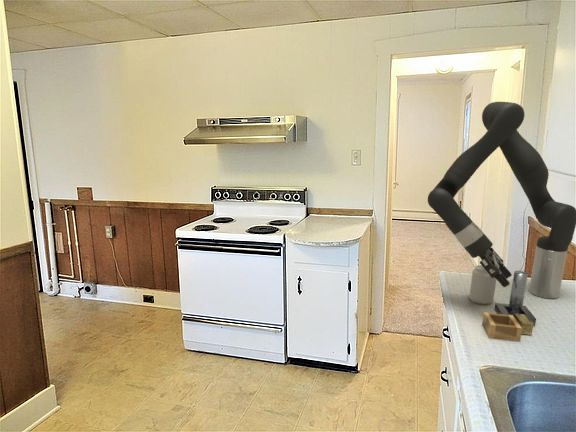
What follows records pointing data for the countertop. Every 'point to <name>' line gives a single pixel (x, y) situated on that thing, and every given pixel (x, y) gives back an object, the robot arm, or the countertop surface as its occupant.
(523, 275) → the grey capsule rod
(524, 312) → the socket block
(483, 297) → the can
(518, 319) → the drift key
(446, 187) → the robot arm
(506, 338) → the brown square frame
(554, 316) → the countertop surface
